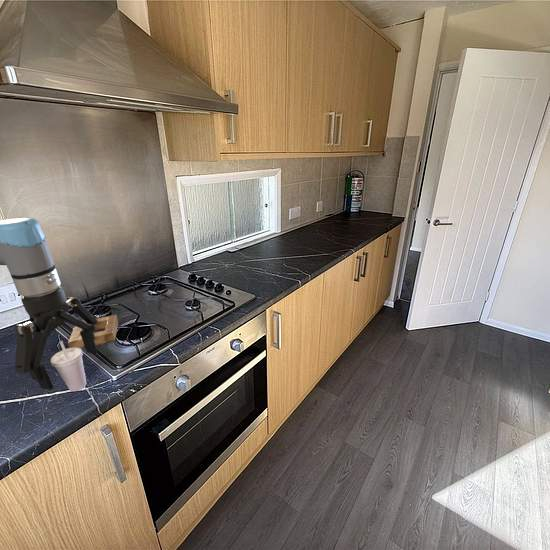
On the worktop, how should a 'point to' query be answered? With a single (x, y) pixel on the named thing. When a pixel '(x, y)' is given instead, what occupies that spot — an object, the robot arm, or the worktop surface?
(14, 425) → the worktop surface
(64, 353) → the smoothie
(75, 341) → the wooden tray
